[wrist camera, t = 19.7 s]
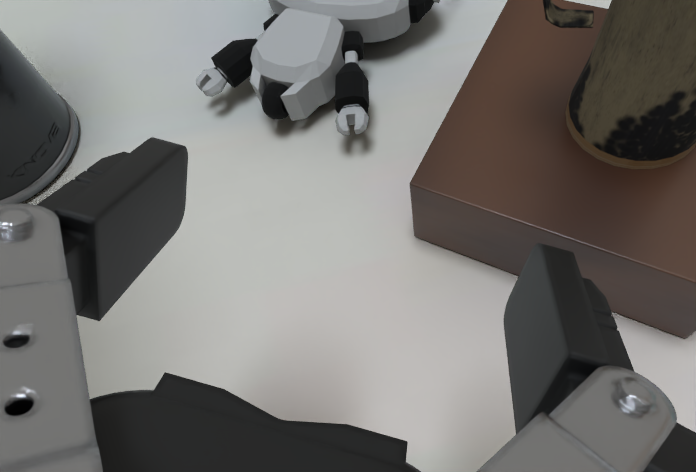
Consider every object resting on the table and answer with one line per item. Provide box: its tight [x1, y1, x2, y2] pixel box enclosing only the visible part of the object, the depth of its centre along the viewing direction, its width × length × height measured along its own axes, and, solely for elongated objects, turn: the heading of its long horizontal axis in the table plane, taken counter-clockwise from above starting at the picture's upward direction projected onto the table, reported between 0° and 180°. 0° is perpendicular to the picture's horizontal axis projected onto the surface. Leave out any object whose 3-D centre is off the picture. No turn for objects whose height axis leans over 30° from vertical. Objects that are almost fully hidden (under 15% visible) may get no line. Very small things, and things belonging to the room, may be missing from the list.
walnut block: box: [410, 0, 696, 338], centre depth 26 cm, size 13×13×5 cm
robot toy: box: [196, 0, 440, 135], centre depth 34 cm, size 12×4×15 cm
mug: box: [543, 0, 696, 169], centre depth 19 cm, size 8×6×12 cm
